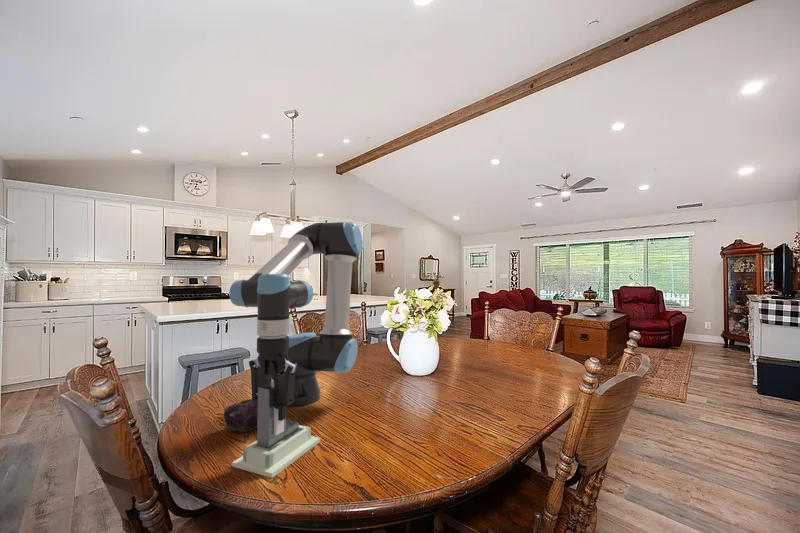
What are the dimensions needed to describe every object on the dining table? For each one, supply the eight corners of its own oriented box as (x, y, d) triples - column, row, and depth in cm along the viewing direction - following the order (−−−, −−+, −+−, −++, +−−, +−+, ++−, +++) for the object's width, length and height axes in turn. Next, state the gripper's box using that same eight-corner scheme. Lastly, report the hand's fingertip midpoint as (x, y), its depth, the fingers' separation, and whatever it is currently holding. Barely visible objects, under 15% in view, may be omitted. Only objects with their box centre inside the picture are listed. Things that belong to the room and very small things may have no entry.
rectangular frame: (232, 466, 82) (232, 449, 82) (284, 433, 99) (284, 419, 99) (272, 478, 78) (272, 459, 78) (320, 441, 94) (320, 426, 94)
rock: (226, 430, 104) (228, 444, 95) (222, 402, 103) (222, 413, 95) (268, 416, 109) (272, 428, 100) (263, 389, 109) (268, 399, 100)
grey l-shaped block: (257, 446, 84) (257, 387, 84) (288, 427, 94) (288, 375, 94) (268, 448, 82) (269, 389, 83) (298, 429, 93) (299, 376, 93)
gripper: (235, 336, 86) (234, 431, 86) (290, 341, 80) (289, 444, 79) (258, 331, 93) (257, 419, 93) (310, 335, 87) (309, 431, 86)
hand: (272, 431), depth 86 cm, fingers closed on grey l-shaped block, 3 cm apart
